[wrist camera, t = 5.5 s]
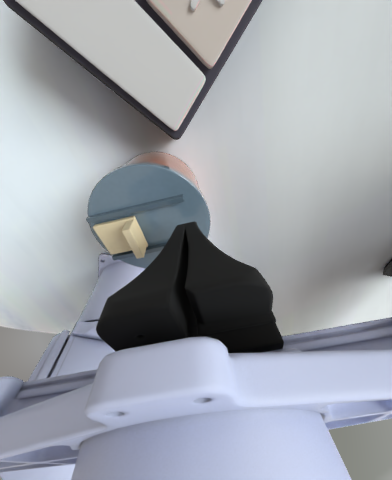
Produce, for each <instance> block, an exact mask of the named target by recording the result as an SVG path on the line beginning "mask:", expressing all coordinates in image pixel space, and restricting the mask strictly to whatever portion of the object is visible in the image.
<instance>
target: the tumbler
mask: <svg viewBox="0 0 392 480" xmlns="http://www.w3.org/2000/svg"><path fill="white" fill-rule="evenodd" d="M130 216H135V218H136V220H137V222H138V224H139V226H140V228H141V230H142V232H143V235H144V237H145V239H146V241H147V243H148V247H146V251H145V255H144V257H143V258H138V259H137V258H136V256H135V255H134V253H133V251H132V250H131V251H126V252H121V253H117V254H112V255H113V256H112V259H113V260H114V261H115V260H121V261H123V262H125V263H127V264H130V265H133V266H136V267H141V268H147V267H148V266H149V265H150V264H151V263H152V262H153V261H154V259H155V258H156V257H157V256H158V255H159V253H160V252H161V251H162V249H163V248H164V246H165V245H166V243H167V242H168V240H169V238H170V237H171V235H172V233H173V231H174V229H175V228H176V226H177V225H180V224H185V223H189V222H194V221H195V222H197V225H198V227H199V229H200V230H201V232H202V233H203V234H204V235H205V237H206V238H207V237H208V234H209V230H210V214H209V210H208V206H207V203H206V201H205V199H204V196H203V195H202V193H201V191H200V190H199V187H198V183H197V180H196V178H195V176H194V174H193V172H192V171H191V170H190V168H189V167H188V166H187V165H186V164H185V163H184V162H182V161H181V160H180V159H178V158H176V157H175V156H172V155H170V154H167V153H163V152H147V153H143V154H140V155H138V156H136V157H134V158H133V159H131V160H130V161H129V162H128V163H127V164H125V165H124V166H121V167H119V168H117V169H115V170H113V171H111V172H110V173H109V174H107V175H106V176H105V177H103V178H102V179H101V180H100V181H99V182H98V183H97V185H96V186H95V188H94V189H93V191H92V193H91V196H90V198H89V202H88V217H87V218H86V220H87V221H88V223H89V224H90V227H91V230H92V232H93V234H94V236H95V237H96V239H97V240H98V242H99V243H100V244H101V245H102V247H103V248H104V249H105V250H106V251H108V250H107V248H106V247H105V245H104V244H103V242H102V241H101V239H100V238H99V236H98V235H97V233H96V232H95V230H94V229H93V226H94V225H95V224H99V223H104V222H108V221H113V220H117V219H122V218H126V217H130ZM108 252H109V251H108Z"/></svg>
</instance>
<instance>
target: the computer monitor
mask: <svg viewBox="0 0 392 480" xmlns="http://www.w3.org/2000/svg"><path fill="white" fill-rule="evenodd" d="M383 275H387V276H392V261H391V262H390V263H389V264H388V265H387V266H386V267H385V268H384V272H383Z"/></svg>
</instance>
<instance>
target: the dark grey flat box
mask: <svg viewBox="0 0 392 480" xmlns="http://www.w3.org/2000/svg"><path fill="white" fill-rule="evenodd" d="M3 1H4V2H5V3H6V5H7V6H8V7H9V8H11V9H12V10H13V11H14V12H15V13H17V14H18V15H19V16H20V17H22V18H23V19H24V20H25V21H27V22H28V23H29V24H30V25H32V26H33V27H34V28H35V29H37V30H38V31H39V32H40V33H42V34H43V35H44V36H45V37H47V38H48V39H49V40H50V41H52V42H53V43H54V44H55V45H56V46H58V47H59V48H60V49H61V50H63V51H64V52H65V53H66V54H68V55H69V56H70V57H71V58H73V59H74V60H75V61H76V62H78V63H79V64H80V65H81V66H83V67H84V68H85V69H86V70H88V71H89V72H90V73H91V74H93V75H94V76H95V77H96V78H98V79H99V80H100V81H101V82H103V83H104V84H105V85H106V86H108V87H109V88H110V89H111V90H113V91H114V92H115V93H116V94H118V95H119V96H120V97H121V98H123V99H124V100H125V101H126V102H128V103H129V104H130V105H131V106H133V107H134V108H135V109H136V110H138V111H139V112H140V113H141V114H143V115H144V116H145V117H146V118H148V119H149V120H150V121H151V122H153V123H154V124H155V125H156V126H158V127H159V128H160V129H161V130H163V131H164V132H165V133H166V134H168V135H169V136H170V137H172V138H173V139H175V140H177V139H179V138H181V136H182V135H183V133H184V131H185V130H186V128H187V126H188V125H189V123H190V121H191V120H192V118H193V116H194V114H195V113H196V111H197V109H198V108H199V106H200V104H201V103H202V101H203V99H204V98H205V96H206V94H207V93H208V91H209V89H210V88H211V86H212V84H213V83H214V81H215V79H216V77H217V76H218V74H219V72H220V71H221V69H222V67H223V66H224V64H225V62H226V61H227V59H228V57H229V56H230V54H231V52H232V51H233V49H234V47H235V46H236V44H237V42H238V40H239V39H240V37H241V35H242V34H243V32H244V30H245V29H246V27H247V25H248V24H249V22H250V20H251V19H252V17H253V15H254V14H255V12H256V10H257V9H258V7H259V5H260V3H261V2H262V0H3Z"/></svg>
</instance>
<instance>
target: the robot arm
mask: <svg viewBox="0 0 392 480" xmlns="http://www.w3.org/2000/svg"><path fill="white" fill-rule="evenodd" d="M112 256H113V255H108V254H100V256H99V275H98V282H97V284H96V286H95V288H94V290H93V292H92V294H91V296H90V298H89V300H88V302H87V304H86V306H85V308H84V310H83V312H82V314H81V316H80V318H79V320H78V321H77V323H76V325H75V327H74V328H73V330H72V332H71V334H70V335H68V334H69V332H70V331H67V330H63V331H62V332H61V333H59V334H57V335H55V336H54V337H53V338H52V340H51V341H50V343H49V345H48V347H47V348H46V350H45V352H44V353H43V355H42V357H41V359H40V360H39V362H38V364H37V365H36V368H35V369H34V371H33V373H32V374H31V376H30V378H29V380H28V381H27V382H23V380H21V379H19V378H15V377H9V376H6V377H0V477H1V479H2V480H351V478H350V476H349V473H348V471H347V469H346V467H345V465H344V463H343V461H342V459H341V457H340V455H339V452H338V450H337V448H336V446H335V444H334V442H333V439H332V438H331V435H330V433H329V431H328V430H329V429H335V428H340V427H346V426H351V425H357V424H362V423H368V422H374V421H379V420H384V419H391V418H392V317H391V318H385V319H380V320H374V321H368V322H363V323H357V324H351V325H346V326H340V327H334V328H328V329H323V330H317V331H311V332H306V333H300V334H294V335H289V336H283V337H282V336H281V334H280V332H279V330H278V328H277V326H276V323H275V322H276V319H275V317H274V315H273V312H272V303H273V294H272V291H271V289H270V287H269V285H268V284H267V282H266V281H265V279H264V278H263V277H262V275H261V274H260V273H259V272H258V270H257V269H256V268H254V267H251V266H249V265H246V264H244V263H241V262H239V261H237V260H235V259H233V258H231V257H230V256H228V255H227V254H225V253H223V252H222V251H221V250H219V249H218V248H217V247H216V246H214V245H213V244H212V243H211V242H210V241H209V240H208V239H207V238H206V237H205V235H204V234H203V233H202V232H201V230H200V229H199V227H198V225H197V222H195V221H194V222H189V223H185V224H180V225H177V226H176V228H175V229H174V231H173V233H172V235H171V237H170V238H169V240H168V242H167V243H166V245H165V246H164V248H163V249H162V251H161V252H160V253H159V255H158V256H157V257H156V258H155V259H154V261H153V262H152V263H151V264H150V265H149V266H148V267H147V268H141V267H136V266H133V265H130V264H127V263H125V262H123V261H121V260H115V261H114V260H113V259H112Z"/></svg>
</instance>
